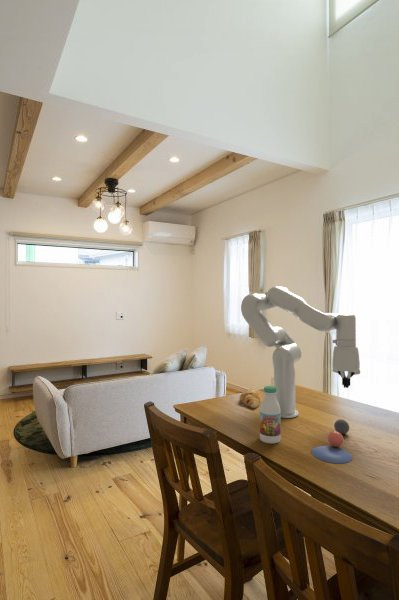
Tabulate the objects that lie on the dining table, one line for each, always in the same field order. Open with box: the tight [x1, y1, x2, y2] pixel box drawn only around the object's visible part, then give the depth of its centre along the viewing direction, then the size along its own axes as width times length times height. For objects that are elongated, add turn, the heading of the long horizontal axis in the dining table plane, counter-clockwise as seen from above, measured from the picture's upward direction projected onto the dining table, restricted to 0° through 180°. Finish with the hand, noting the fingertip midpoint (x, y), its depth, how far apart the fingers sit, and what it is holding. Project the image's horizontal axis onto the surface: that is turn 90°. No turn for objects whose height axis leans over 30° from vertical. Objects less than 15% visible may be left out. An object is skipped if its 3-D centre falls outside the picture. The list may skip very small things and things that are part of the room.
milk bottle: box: [259, 385, 282, 445], centre depth 131 cm, size 8×8×20 cm
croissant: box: [239, 388, 261, 409], centre depth 177 cm, size 21×10×8 cm, turn 5°
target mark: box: [311, 445, 353, 465], centre depth 119 cm, size 13×13×1 cm
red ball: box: [326, 430, 345, 448], centre depth 125 cm, size 6×6×6 cm
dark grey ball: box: [333, 418, 350, 435], centre depth 137 cm, size 6×6×6 cm
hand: (346, 387), depth 145 cm, fingers closed
